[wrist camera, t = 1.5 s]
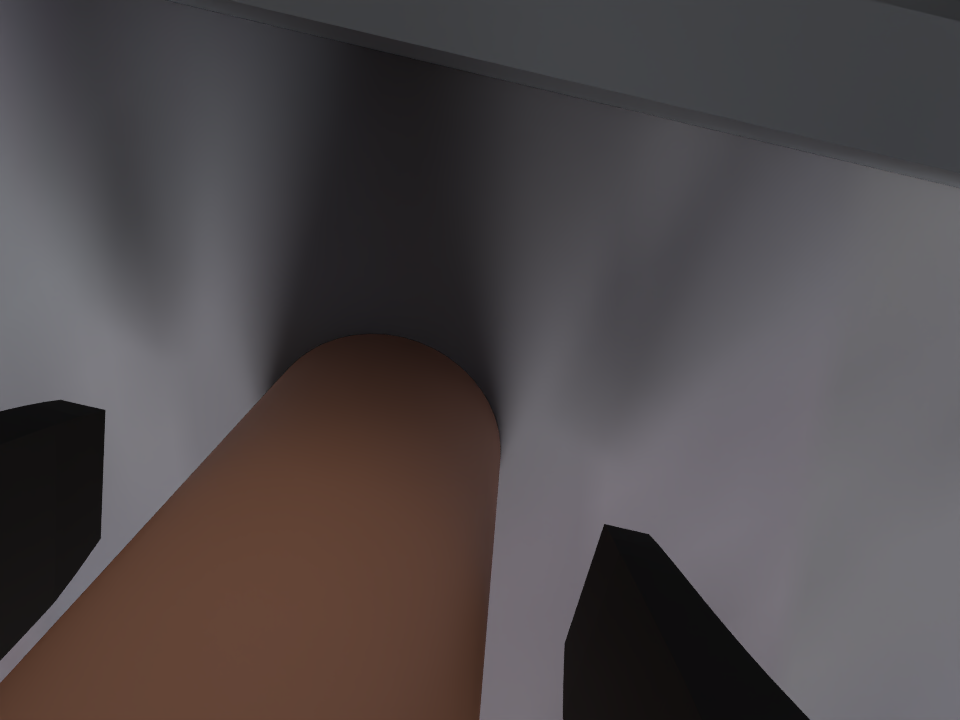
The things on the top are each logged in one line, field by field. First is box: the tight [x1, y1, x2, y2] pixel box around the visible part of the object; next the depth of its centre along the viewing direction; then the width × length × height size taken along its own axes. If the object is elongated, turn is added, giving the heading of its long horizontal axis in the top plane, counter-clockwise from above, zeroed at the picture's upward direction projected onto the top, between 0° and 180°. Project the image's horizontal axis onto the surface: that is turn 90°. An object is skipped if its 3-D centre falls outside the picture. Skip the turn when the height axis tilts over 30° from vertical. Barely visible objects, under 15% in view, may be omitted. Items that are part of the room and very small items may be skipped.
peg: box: [0, 334, 501, 720], centre depth 8 cm, size 4×4×8 cm
